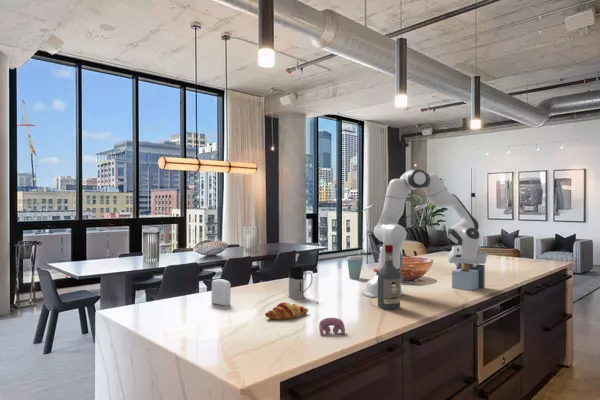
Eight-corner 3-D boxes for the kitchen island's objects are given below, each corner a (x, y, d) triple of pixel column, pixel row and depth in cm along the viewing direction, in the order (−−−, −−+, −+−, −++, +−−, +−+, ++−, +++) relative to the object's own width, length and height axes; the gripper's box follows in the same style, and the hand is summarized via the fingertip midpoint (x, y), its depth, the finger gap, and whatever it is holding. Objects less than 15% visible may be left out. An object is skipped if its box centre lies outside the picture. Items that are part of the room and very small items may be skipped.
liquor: (375, 306, 210) (375, 244, 210) (391, 304, 213) (391, 243, 213) (385, 310, 201) (385, 246, 201) (402, 308, 204) (402, 245, 204)
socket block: (470, 290, 242) (470, 272, 242) (452, 287, 250) (452, 270, 250) (478, 287, 250) (478, 270, 250) (460, 285, 258) (460, 268, 258)
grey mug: (293, 294, 236) (293, 267, 236) (316, 297, 228) (316, 269, 228) (284, 297, 228) (284, 269, 228) (308, 300, 221) (308, 271, 221)
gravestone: (231, 304, 213) (231, 279, 213) (226, 306, 209) (226, 280, 209) (215, 302, 218) (215, 277, 218) (210, 303, 214) (210, 279, 214)
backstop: (469, 294, 236) (469, 268, 236) (442, 290, 247) (442, 265, 247) (484, 288, 250) (484, 264, 250) (458, 285, 261) (458, 262, 261)
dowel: (464, 280, 248) (464, 259, 248) (460, 278, 252) (460, 258, 252) (470, 279, 249) (470, 258, 249) (466, 278, 253) (466, 258, 253)
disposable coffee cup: (344, 277, 288) (344, 255, 288) (358, 276, 291) (359, 254, 291) (350, 280, 278) (350, 257, 278) (366, 279, 281) (366, 256, 281)
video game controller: (344, 336, 168) (342, 318, 171) (346, 334, 164) (344, 315, 167) (318, 337, 167) (318, 318, 170) (320, 335, 163) (319, 316, 166)
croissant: (304, 320, 198) (300, 303, 201) (315, 314, 191) (310, 296, 194) (262, 325, 187) (259, 307, 191) (272, 319, 180) (268, 301, 183)
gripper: (487, 247, 242) (483, 262, 251) (449, 246, 246) (446, 261, 255) (489, 256, 237) (485, 271, 247) (450, 255, 241) (448, 269, 251)
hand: (465, 266), depth 251 cm, fingers open, 8 cm apart
